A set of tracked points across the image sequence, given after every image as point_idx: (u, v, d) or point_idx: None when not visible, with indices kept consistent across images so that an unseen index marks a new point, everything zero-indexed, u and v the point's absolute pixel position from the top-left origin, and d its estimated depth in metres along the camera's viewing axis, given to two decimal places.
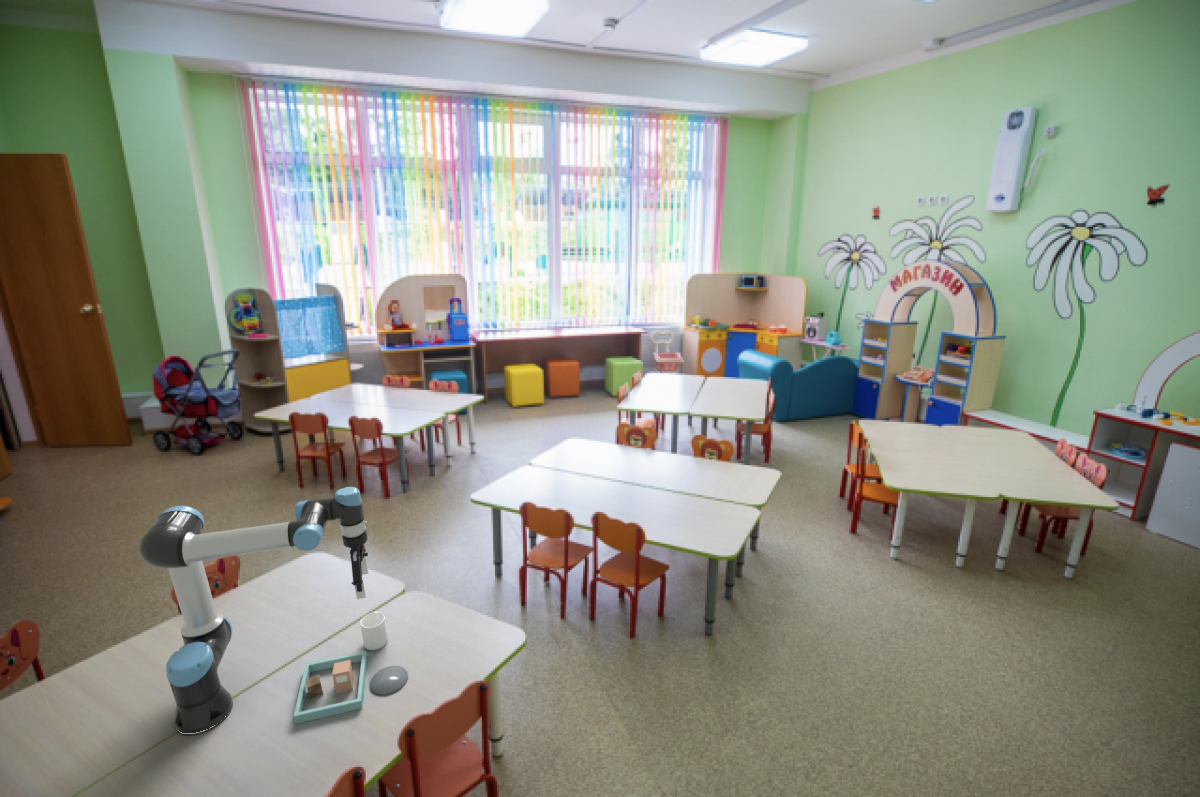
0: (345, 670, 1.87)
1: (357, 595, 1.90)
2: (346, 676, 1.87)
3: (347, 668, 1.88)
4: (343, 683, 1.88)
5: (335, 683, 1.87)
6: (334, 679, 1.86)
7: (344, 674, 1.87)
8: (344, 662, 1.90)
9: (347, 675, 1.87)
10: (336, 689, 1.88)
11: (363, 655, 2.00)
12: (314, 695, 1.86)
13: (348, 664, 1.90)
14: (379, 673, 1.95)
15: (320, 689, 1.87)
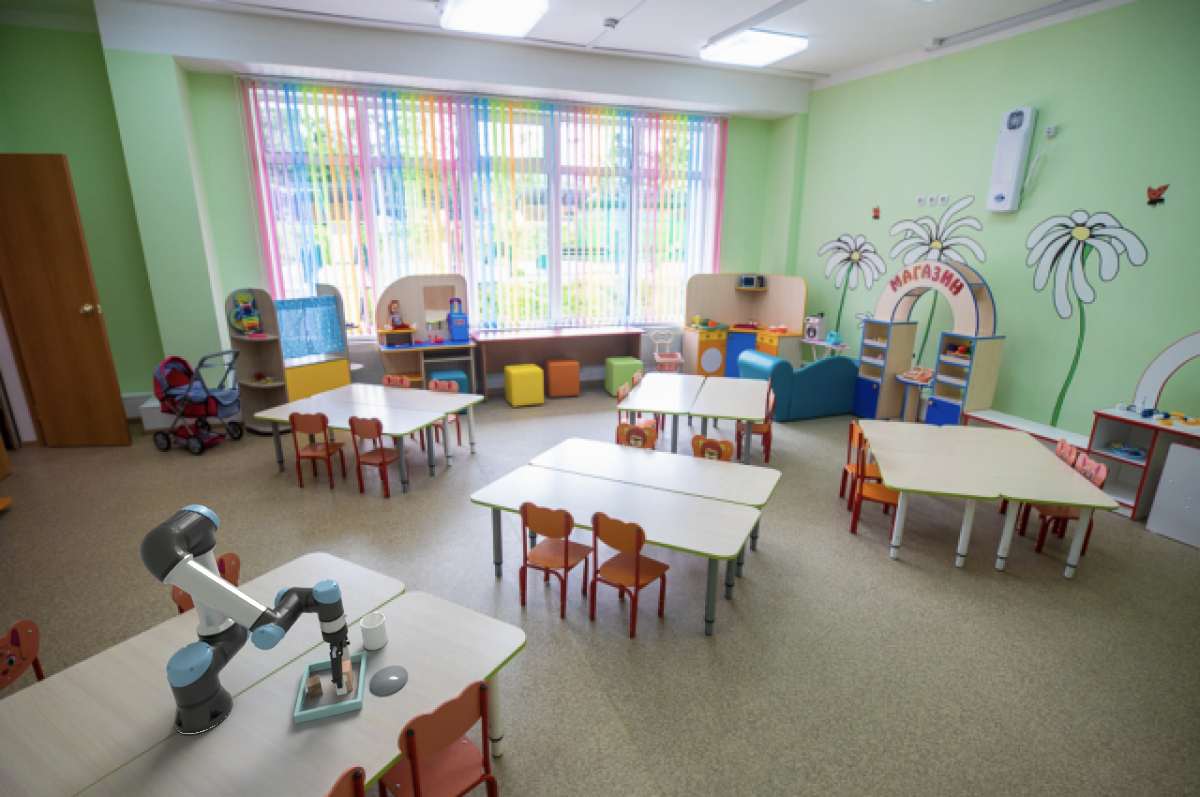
0: (345, 670, 1.87)
1: (338, 691, 1.83)
2: (346, 676, 1.87)
3: (347, 668, 1.88)
4: None
5: None
6: None
7: (344, 674, 1.87)
8: (344, 662, 1.90)
9: (347, 675, 1.87)
10: None
11: (363, 655, 2.00)
12: (314, 695, 1.86)
13: (348, 664, 1.90)
14: (379, 673, 1.95)
15: (320, 689, 1.87)
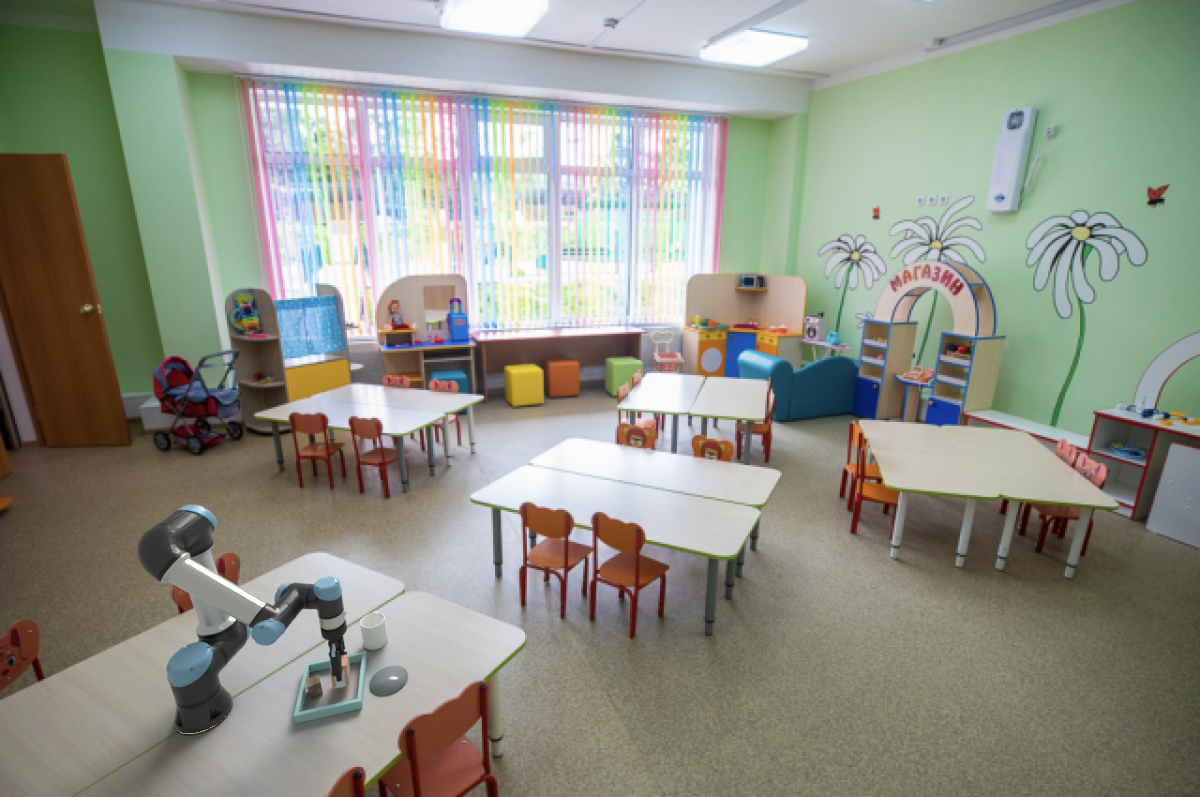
0: (342, 664, 1.87)
1: (337, 684, 1.87)
2: (343, 670, 1.87)
3: (344, 662, 1.87)
4: None
5: (332, 677, 1.86)
6: None
7: (342, 668, 1.86)
8: (341, 656, 1.90)
9: (345, 669, 1.87)
10: (333, 683, 1.87)
11: (363, 655, 2.00)
12: (314, 695, 1.86)
13: (345, 658, 1.89)
14: (379, 673, 1.95)
15: (320, 689, 1.87)
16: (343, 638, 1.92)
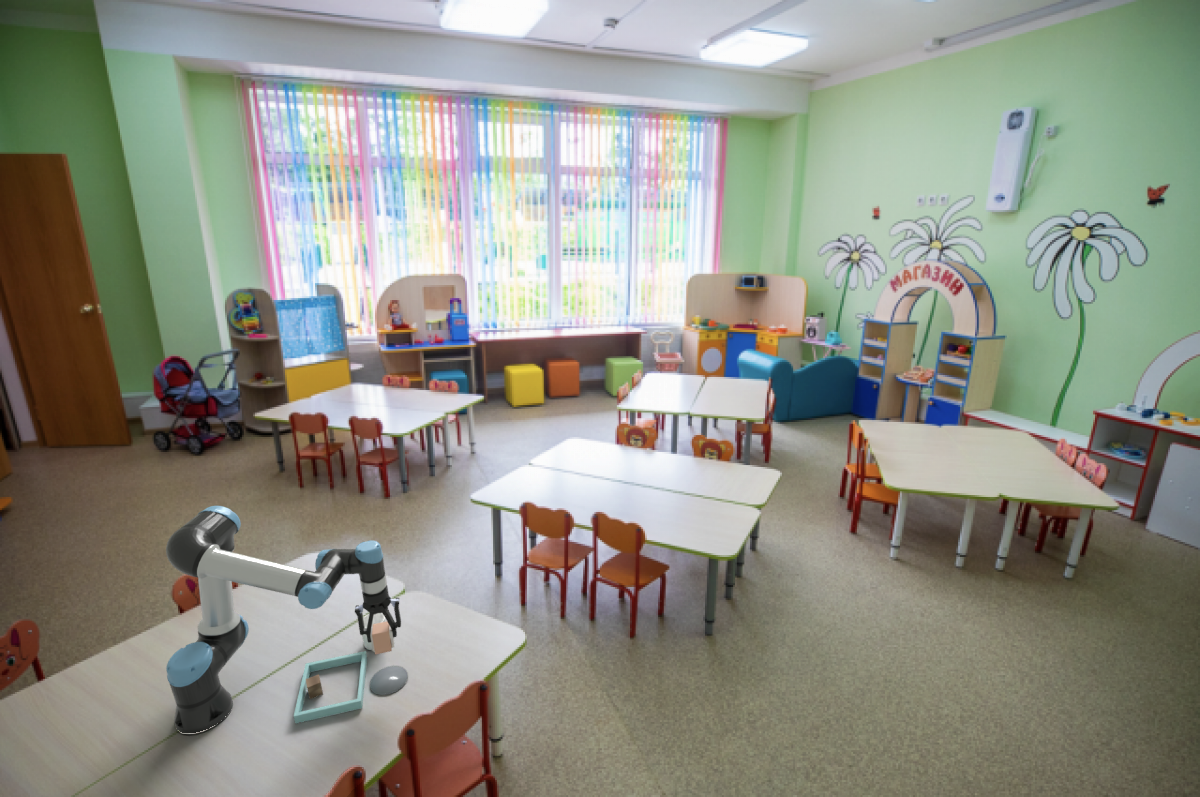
0: (387, 623, 1.88)
1: (393, 642, 1.88)
2: (389, 628, 1.89)
3: (384, 622, 1.88)
4: None
5: (390, 639, 1.86)
6: (389, 635, 1.85)
7: (389, 626, 1.88)
8: (374, 627, 1.86)
9: (389, 626, 1.89)
10: (391, 646, 1.87)
11: (363, 655, 2.00)
12: (314, 695, 1.86)
13: (379, 623, 1.88)
14: (379, 673, 1.95)
15: (320, 689, 1.87)
16: None
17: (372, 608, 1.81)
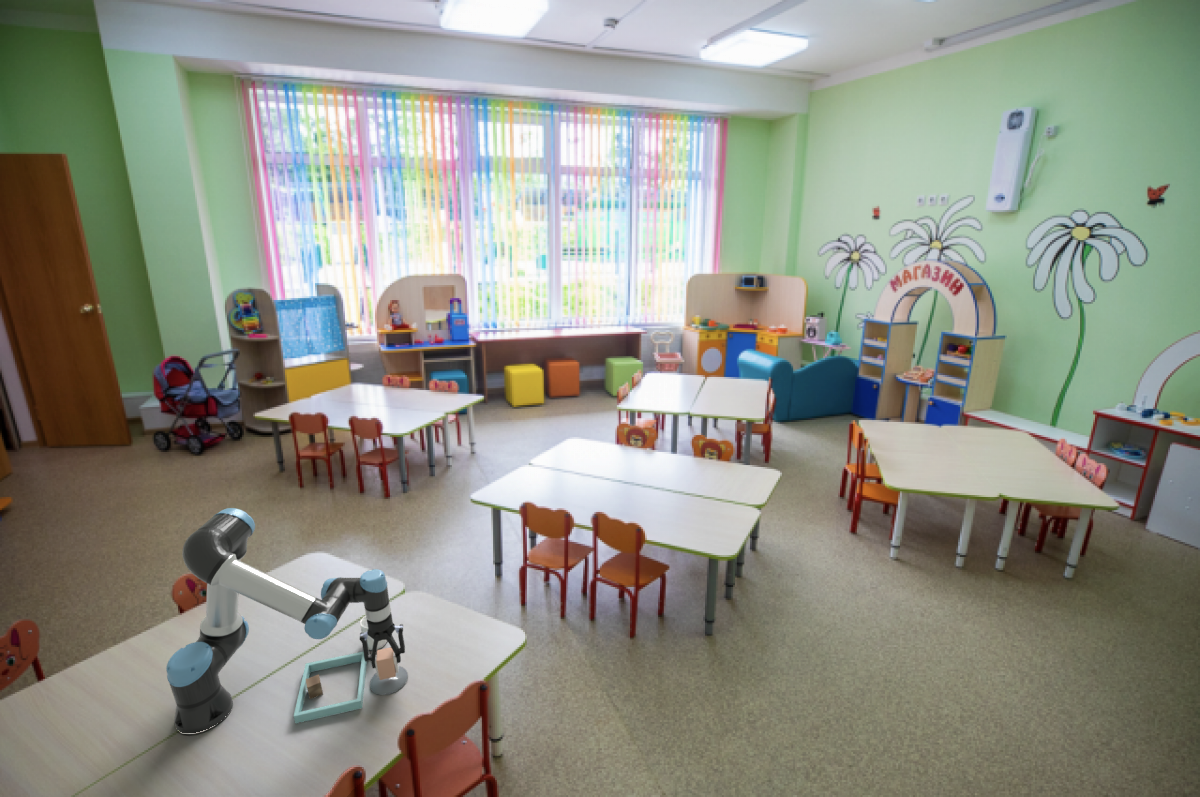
0: (391, 649, 1.91)
1: (397, 668, 1.92)
2: (393, 653, 1.92)
3: (388, 648, 1.92)
4: None
5: (394, 665, 1.90)
6: (393, 661, 1.89)
7: (393, 652, 1.91)
8: (379, 653, 1.90)
9: (393, 652, 1.92)
10: (395, 671, 1.90)
11: (363, 655, 2.00)
12: (314, 695, 1.86)
13: (383, 649, 1.91)
14: None
15: (320, 689, 1.87)
16: None
17: (376, 635, 1.84)
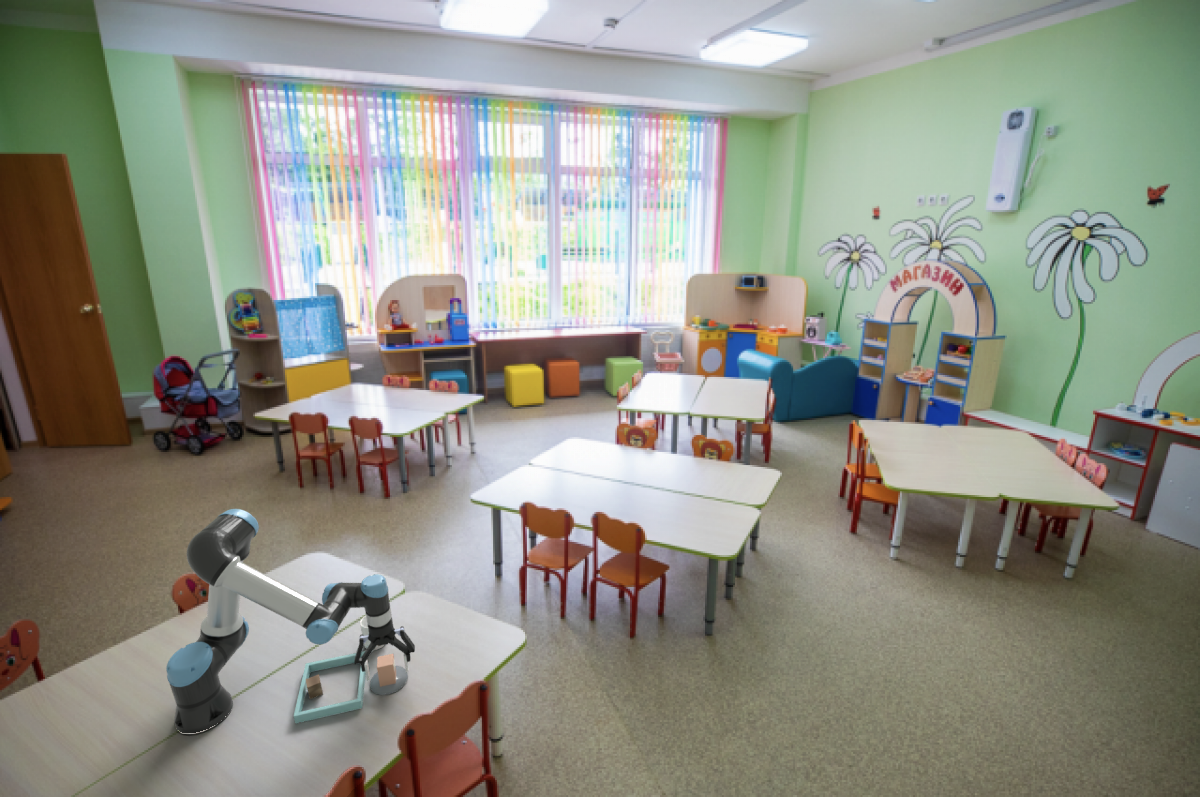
0: (391, 656, 1.92)
1: (407, 667, 1.93)
2: (394, 660, 1.93)
3: (389, 655, 1.92)
4: None
5: (394, 672, 1.90)
6: (393, 668, 1.90)
7: (393, 658, 1.92)
8: (379, 660, 1.90)
9: None
10: (395, 678, 1.91)
11: None
12: (314, 695, 1.86)
13: (383, 656, 1.92)
14: None
15: (320, 689, 1.87)
16: (358, 648, 1.87)
17: (377, 640, 1.85)
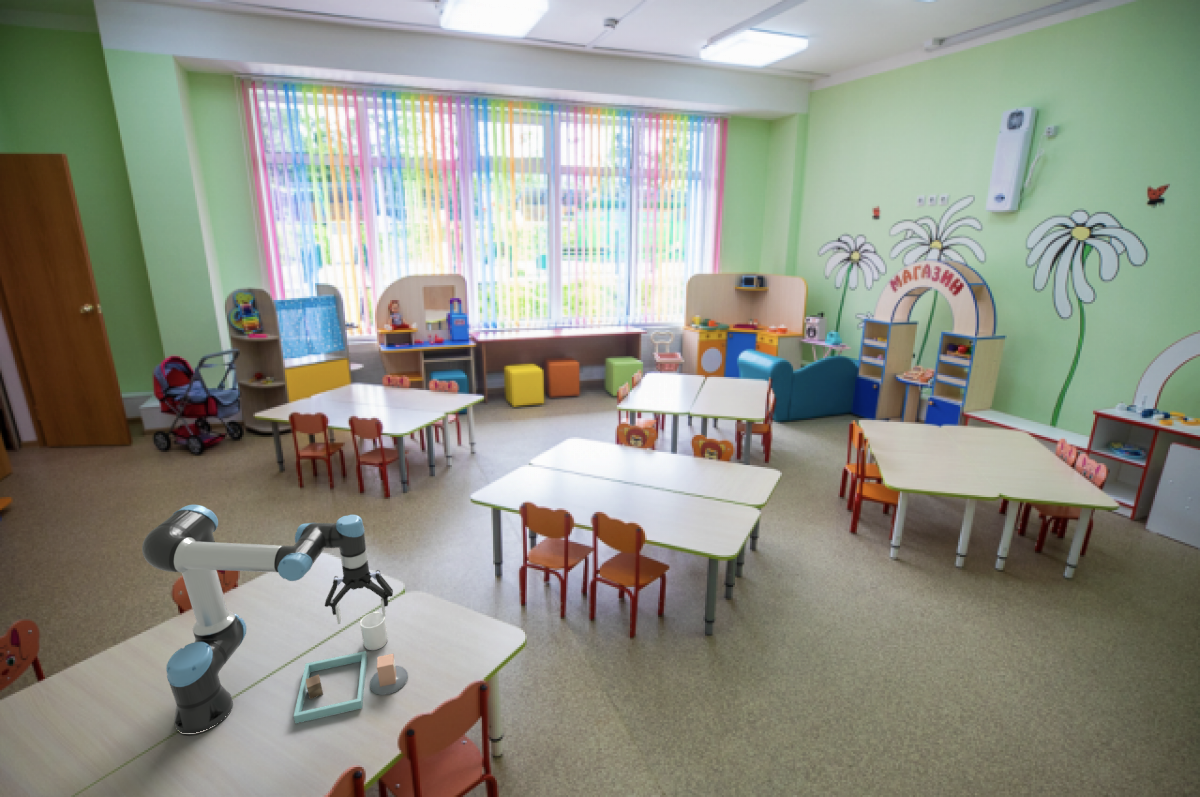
0: (391, 656, 1.92)
1: (384, 612, 1.88)
2: (394, 660, 1.93)
3: (389, 655, 1.92)
4: None
5: (394, 672, 1.90)
6: (393, 668, 1.90)
7: (393, 658, 1.92)
8: (379, 660, 1.90)
9: None
10: (395, 678, 1.91)
11: (363, 655, 2.00)
12: (314, 695, 1.86)
13: (383, 656, 1.92)
14: None
15: (320, 689, 1.87)
16: (330, 590, 1.82)
17: (352, 583, 1.80)
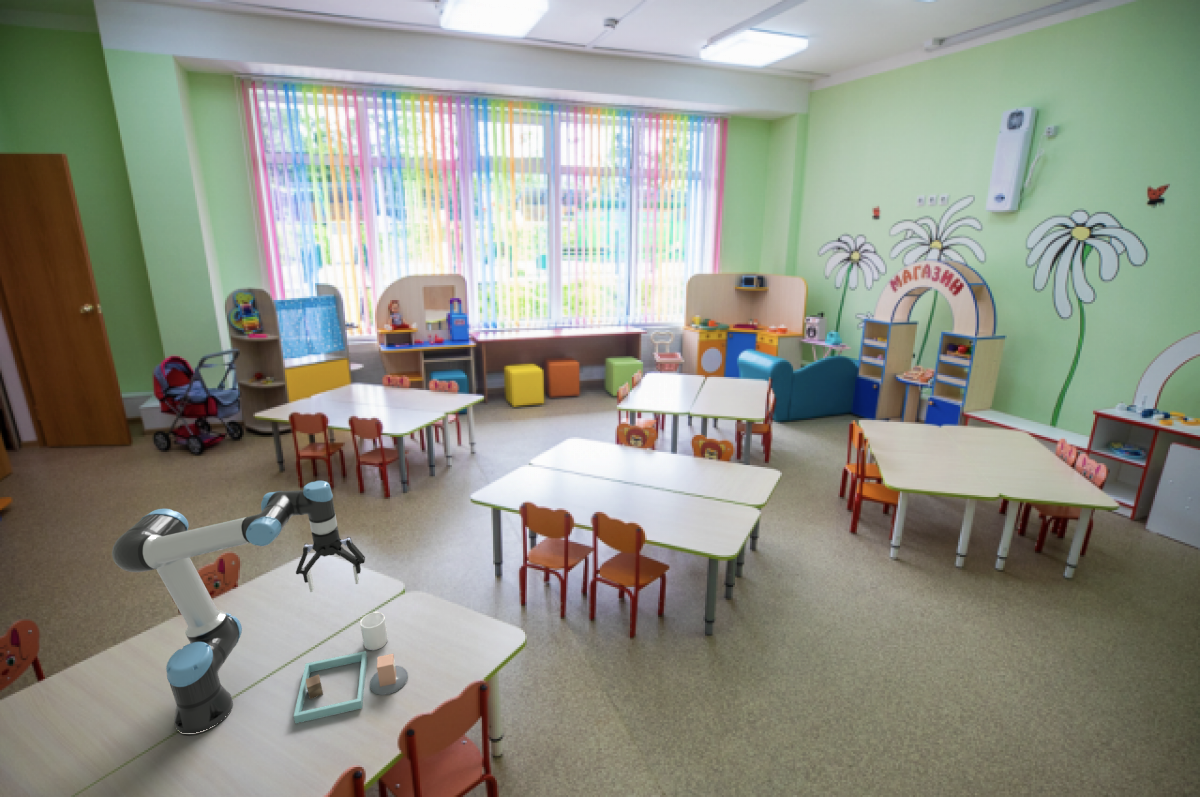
0: (391, 656, 1.92)
1: (357, 579, 1.87)
2: (394, 660, 1.93)
3: (389, 655, 1.92)
4: None
5: (394, 672, 1.90)
6: (393, 668, 1.90)
7: (393, 658, 1.92)
8: (379, 660, 1.90)
9: None
10: (395, 678, 1.91)
11: (363, 655, 2.00)
12: (314, 695, 1.86)
13: (383, 656, 1.92)
14: None
15: (320, 689, 1.87)
16: None
17: (322, 549, 1.79)
